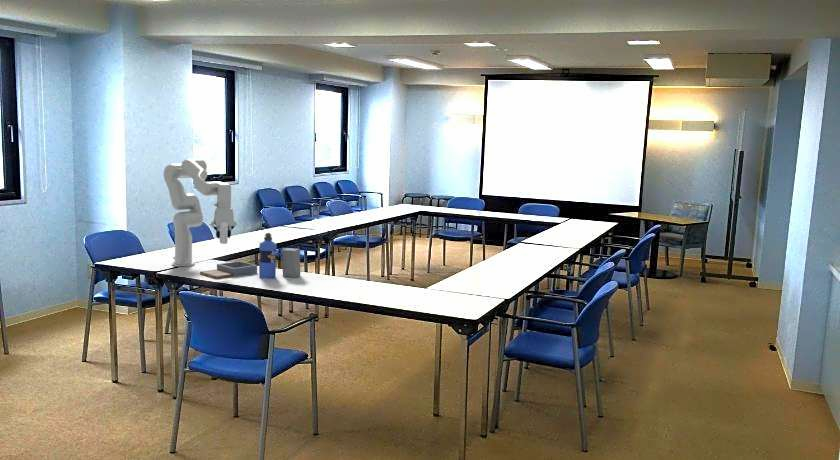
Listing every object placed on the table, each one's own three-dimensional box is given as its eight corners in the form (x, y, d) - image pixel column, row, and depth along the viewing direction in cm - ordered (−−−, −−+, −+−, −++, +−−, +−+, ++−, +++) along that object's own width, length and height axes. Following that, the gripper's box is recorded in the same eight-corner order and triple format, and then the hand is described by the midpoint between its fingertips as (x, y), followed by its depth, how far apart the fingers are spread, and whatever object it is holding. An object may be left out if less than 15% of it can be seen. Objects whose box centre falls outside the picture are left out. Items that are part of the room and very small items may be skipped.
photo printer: (219, 240, 397) (219, 219, 395) (227, 240, 398) (227, 219, 396) (219, 244, 387) (220, 222, 385) (227, 244, 389) (228, 222, 387)
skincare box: (300, 275, 402) (301, 248, 399) (294, 278, 395) (295, 250, 393) (287, 274, 404) (288, 247, 402) (281, 276, 398) (281, 248, 395)
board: (200, 274, 393) (200, 271, 392) (215, 271, 400) (215, 269, 400) (216, 279, 383) (216, 276, 382) (232, 276, 390) (232, 274, 390)
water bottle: (279, 276, 397) (280, 233, 393) (269, 279, 388) (269, 235, 385) (265, 274, 400) (266, 231, 397) (255, 277, 392) (256, 233, 388)
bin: (216, 271, 401) (216, 264, 400) (240, 268, 413) (240, 260, 413) (233, 276, 391) (233, 268, 390) (257, 272, 403) (257, 265, 403)
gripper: (210, 206, 382) (210, 239, 384) (241, 206, 391) (240, 238, 394) (206, 204, 388) (206, 237, 391) (236, 204, 397) (236, 236, 400)
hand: (223, 237), depth 392 cm, fingers closed on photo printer, 5 cm apart
